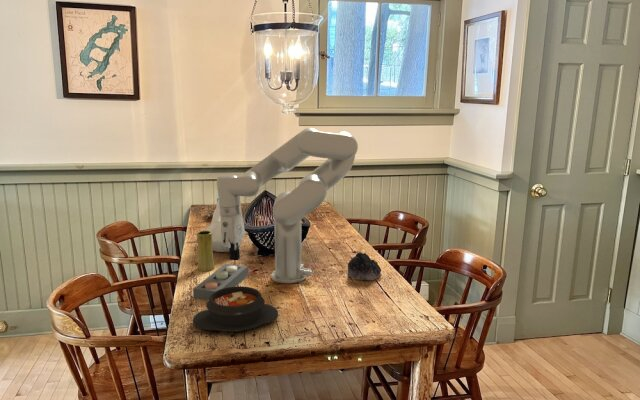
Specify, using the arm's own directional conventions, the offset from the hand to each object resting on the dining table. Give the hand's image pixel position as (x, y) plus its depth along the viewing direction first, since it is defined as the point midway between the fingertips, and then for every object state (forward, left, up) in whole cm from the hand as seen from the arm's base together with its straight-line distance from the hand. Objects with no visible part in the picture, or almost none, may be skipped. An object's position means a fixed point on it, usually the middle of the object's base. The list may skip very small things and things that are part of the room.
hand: (235, 259), depth 181 cm
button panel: (+1, +8, -7) cm, 11 cm away
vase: (+15, -6, -7) cm, 17 cm away
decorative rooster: (+19, -29, -7) cm, 35 cm away
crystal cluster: (-44, -15, -8) cm, 47 cm away
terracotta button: (+1, +16, -6) cm, 17 cm away
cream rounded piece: (+1, 0, -6) cm, 6 cm away
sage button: (+1, +8, -5) cm, 10 cm away
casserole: (-15, +32, -7) cm, 36 cm away
